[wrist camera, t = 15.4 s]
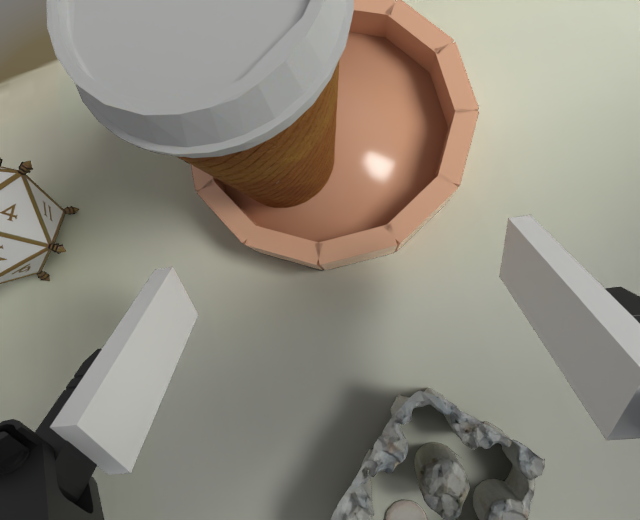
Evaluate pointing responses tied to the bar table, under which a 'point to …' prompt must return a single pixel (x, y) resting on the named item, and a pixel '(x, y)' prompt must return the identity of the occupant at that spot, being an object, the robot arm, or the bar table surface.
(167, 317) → the robot arm
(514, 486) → the egg carton
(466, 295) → the bar table surface
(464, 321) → the bar table surface
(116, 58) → the disposable coffee cup
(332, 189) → the terracotta bowl
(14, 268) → the game die
